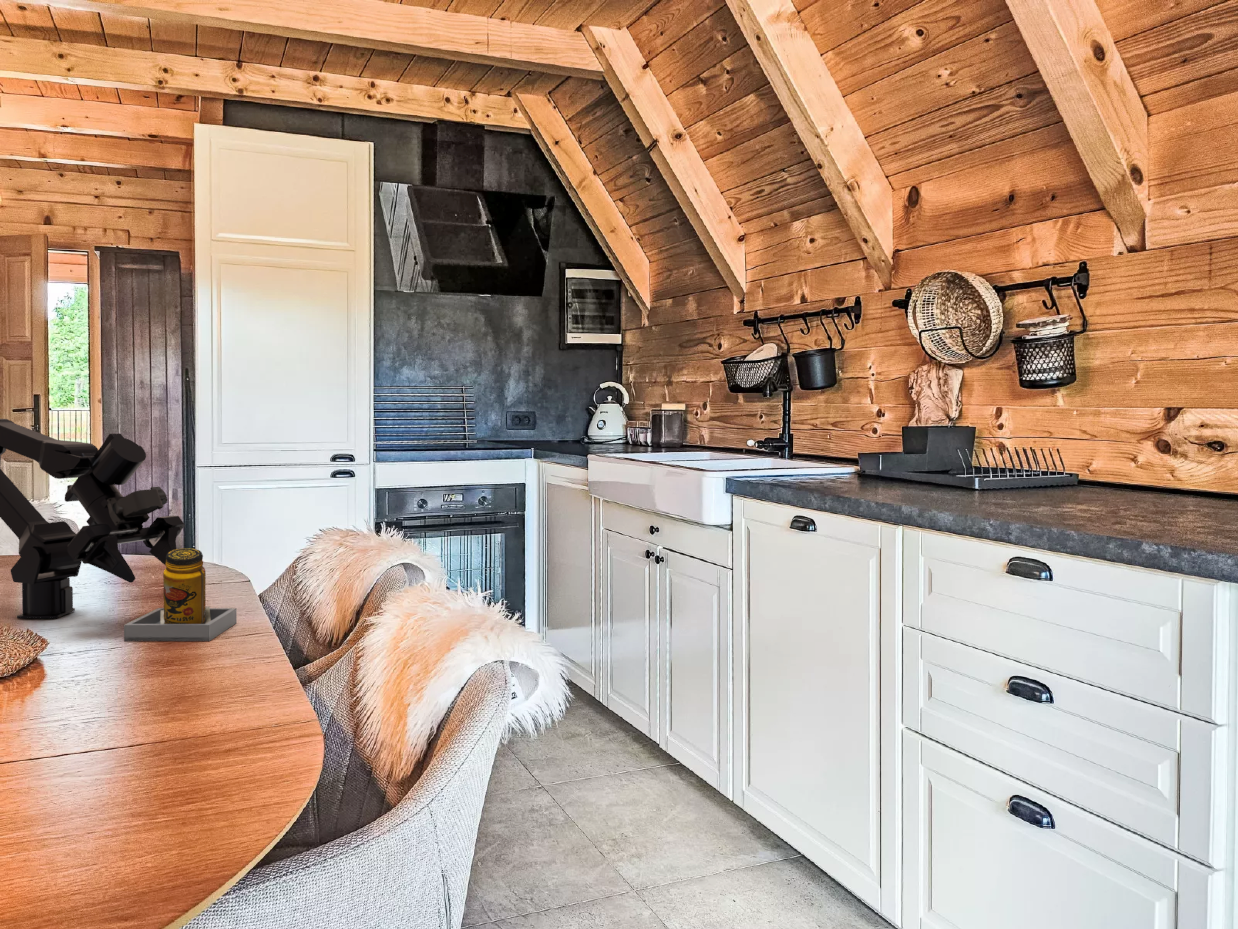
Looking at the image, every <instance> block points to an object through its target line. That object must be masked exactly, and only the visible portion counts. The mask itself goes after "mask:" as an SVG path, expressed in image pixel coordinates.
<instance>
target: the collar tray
mask: <svg viewBox="0 0 1238 929" xmlns="http://www.w3.org/2000/svg"><path fill="white" fill-rule="evenodd" d="M161 610H164V607H158V608H156V609H154V610H152V611H150V612H147V613H146V614H143V615H141V616H140V617H138V618H136V619H133V620H131V621H129V622H127V623H125V624H124V625H123V641H124V642H210V641H212V640H213V639H215V638H216V637H218V636H220V634H223V633H224V632H226V631H227V630H229V629H230V628H232V627H233V626H234V625H236V624H237V618H238V617H237V612H238V611H237V608H235V607H234V608H233V607H231V608H230V607H229V608H228V607H221V608H220V607H218V608H216V607H213V608H212V607H210V618H211V621H210V622H208V623H206V624H160V617H161Z"/></svg>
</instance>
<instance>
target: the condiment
mask: <svg viewBox="0 0 1238 929" xmlns="http://www.w3.org/2000/svg"><path fill="white" fill-rule="evenodd" d="M203 557H204V555H203V553H202V551H201V550H199V549H197V548H192V547H191V548H190V547H182V548H177V549H175V550H172V551H170V552H169V553H167V555H166V566H165V569H164V570H163V572H162V575H163V581H162V582H163V583H162V584H163V590H162V592H163V608H164V610H161V617H160V624H206V623H208V622H210V621H211V618H210V608H211V607H210V605H207V606H206V604H207V603H206V582H207V581H206V568H205V567H204V566H203V565H204V560H203Z"/></svg>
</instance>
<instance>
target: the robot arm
mask: <svg viewBox="0 0 1238 929" xmlns="http://www.w3.org/2000/svg"><path fill="white" fill-rule="evenodd" d="M7 450H8V451H10V452H12V453H14V454H15V453H16V454H17V455H21V456H23V457H25V458H29V459H30V460H33V461H35V462H37V463H38V466H39V468H40V470H42V471H43V472H45V473H47V474H48V475H49V476H51V477H53V478H54V479H56V480H57V479H59V480H60V479H61V480H62V479H76V480H75V481H74V482H73V483H72V484H68V485H67V487H66V489H67V490H66V492H65V494H64V502H66V503H67V502H69V503H70V502H79V503H80V505H81V506H82V508H83V509H84V510H85V511H86V513H87V514H88V515H89V517H88V519H87V520H86V523H87V525H83V526H82V527H80V529H79V531H78V532H77V533H76V532H74V530H73V529H72V528H71V526H70V524H69V523H67V522H66V521H63V520H61V521H53V522H48V521H47V520H46V519H45V518H44V516H43V515H42V514H41V512H39V511H38V509H36V507H35V506H34V505H33V504H32V503H31V502H30V501H29V499H28V498H27V497H26V496H25V495H24V494H23V493H22V492H21V490H20V489H19V488H18V487H17V486H16V485H15V484H14V483H13V481H12V480H11V479H10V478H9V477H8V476H7V475H6V474H5V472H4V471H3V470H2V468H0V519H1V521H2V522H4V524H5V525H6V526H7V528H9V529H10V530H11V532H13V534H14V535H15V536H16V537H17V539H18V555H19V556H20V557H19V558H18V560H17V561H16V562H15V563H14V564H13V566H12V567H11V569H10V574H11V578H12V582H13V583H18V584H21V596H22V597H21V599H22V602H21V603H22V608H21V610H22V613H20V614H17V615H16V619H59V618H61V617H63V616H65V615H69V614H71V613H73V612H75V611H76V608H74V600H73V598H74V592H73V591H74V590H73V589H74V587H73V586H72V585H70V584H71V583H70V582H71V581H70V580H71V579H70V578H74V577H78V575H79V572H80V570H81V565H82V563H83V564H84V565H87V564H88V565H90V566H93V567H96V568H97V569H101V570H102V571H105V572H108V573H109V574H111V575H113V576H116V578H117V577H118V578H120V579H122V580H124V581H126V582H128V583H133V582H134V581H135V580H136V576H135V574H134V572H133V570H132V568H131V567H130V565H129V563H128V562H127V561H126V559H125V557H124V556H123V554H122V553H121V551H120V549H119V545H121V544H122V545H123V544H128V543H130V544H131V543H135V542H143V544H144V545H145V547H147V548H149V553H150V554H151V555H152V556H153V557H154V558H156V559H157V560H158V561H159V562H161V563H162V564H163V565H164V566H165V567H166V555H167V553H169V552H170V551H172V550H175V549H178V548H177V542H176V540H177V537H178V536H179V534H180V533H181V531H182V530H183V529H184V528H185V527H186V525H185V524H186V523H184V521H183V520H182V519H181V517H180V516H179V515H165V516H158V517H156V518H155V519H154V521H153V522H152V523H151V524H150V525H149V526H148V527H144V525H143V524H144V523H147V522H148V520H149V519H150V518H151V517H150V516H149V514H150V513H153V512H155V511H157V510H161V509H163V508H164V505H165V504H167V503H168V501H169V500H168V497H167V494H166V492H165V491H164V490H163V489H162V487H160V486H151V487H150V489H140V490H135V491H133V492H130V493H129V494H127V495H125V496H123V495H122V493H121V492H120V490H119V489H118V488H117V486H121V485H125V484H126V483H128V482H129V480H130V479H131V478H132V476H133V475H134V473H136V471H137V470H138V469H139V468H140V466H141V465H142V464H143V463H144V461H145V460H146V458H147V454H146V450H144V448H143V446H141V445H139V444H137V443H136V442H135V441H133V440H131V439H128V438H125V437H124V436H123V435H122V433H120V432H119V433H109V434H108V435H107V437H106V438H105V439H104V442H103V443H102V445H101V446H100V447H99V448H97V446H96V445H94V444H93V443H89V442H83V441H75V440H74V441H72V440H70V441H69V440H60V439H56V438H54V437H50V436H48V435H46V434H43V433H40V432H38V431H36V430H33V429H30V428H27V427H25V426H22V425H20V424H17V423H15V422H14V421H12V420H9V419H8V418H0V465H1V460H2V455H3V454H4V453H6V452H7Z"/></svg>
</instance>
